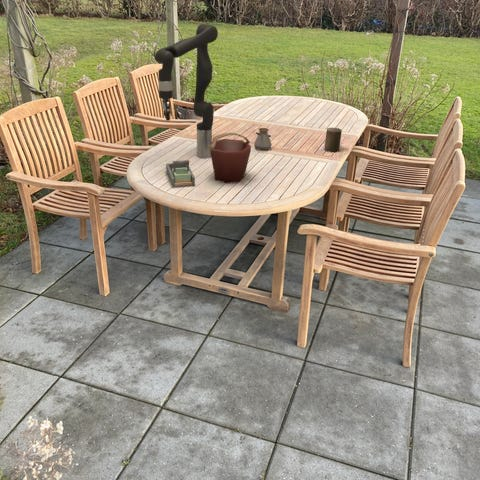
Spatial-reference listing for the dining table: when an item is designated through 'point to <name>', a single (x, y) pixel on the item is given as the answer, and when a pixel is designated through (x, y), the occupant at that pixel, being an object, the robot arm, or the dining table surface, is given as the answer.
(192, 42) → the robot arm
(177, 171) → the box
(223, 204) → the dining table surface
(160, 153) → the dining table surface
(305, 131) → the dining table surface
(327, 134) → the pillar candle
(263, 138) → the coffee pot
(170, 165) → the bay
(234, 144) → the bucket
